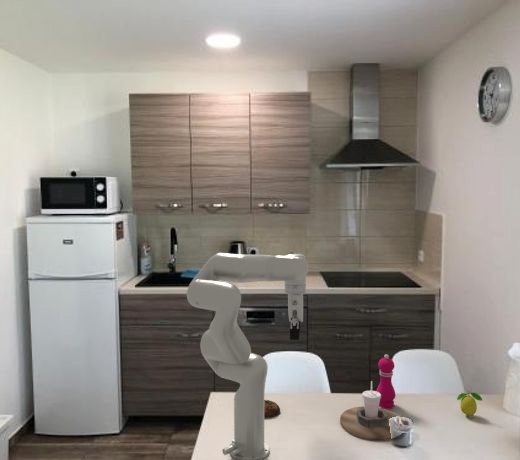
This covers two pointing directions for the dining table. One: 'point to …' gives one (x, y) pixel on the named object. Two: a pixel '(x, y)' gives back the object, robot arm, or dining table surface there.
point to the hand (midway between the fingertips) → (295, 335)
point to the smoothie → (371, 403)
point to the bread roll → (270, 409)
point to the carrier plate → (367, 424)
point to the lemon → (469, 403)
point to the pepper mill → (386, 383)
